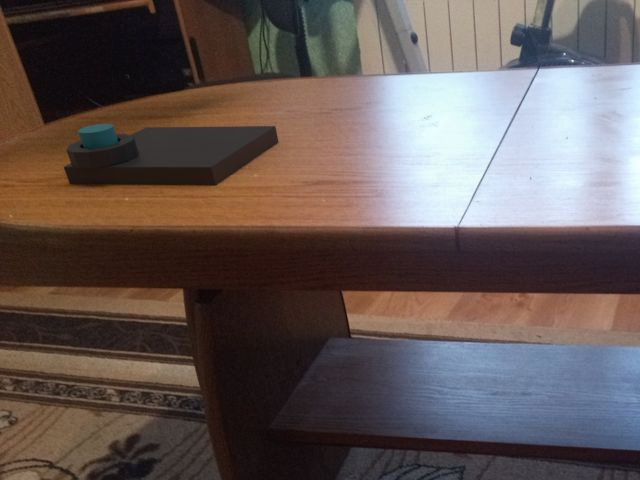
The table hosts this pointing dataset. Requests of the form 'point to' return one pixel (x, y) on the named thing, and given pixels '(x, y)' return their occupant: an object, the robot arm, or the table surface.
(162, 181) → the scale
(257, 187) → the table surface
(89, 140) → the button
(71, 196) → the table surface
